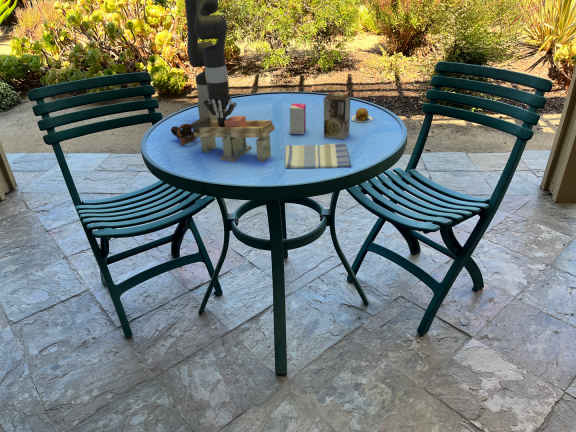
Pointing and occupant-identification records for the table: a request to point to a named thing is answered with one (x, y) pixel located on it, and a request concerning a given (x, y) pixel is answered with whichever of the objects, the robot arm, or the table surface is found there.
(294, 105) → the supplement box
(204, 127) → the beam
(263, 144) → the stand
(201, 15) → the robot arm
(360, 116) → the hamburger
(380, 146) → the table surface
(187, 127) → the pottery mug
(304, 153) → the dish towel
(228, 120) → the block
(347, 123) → the coffee box
